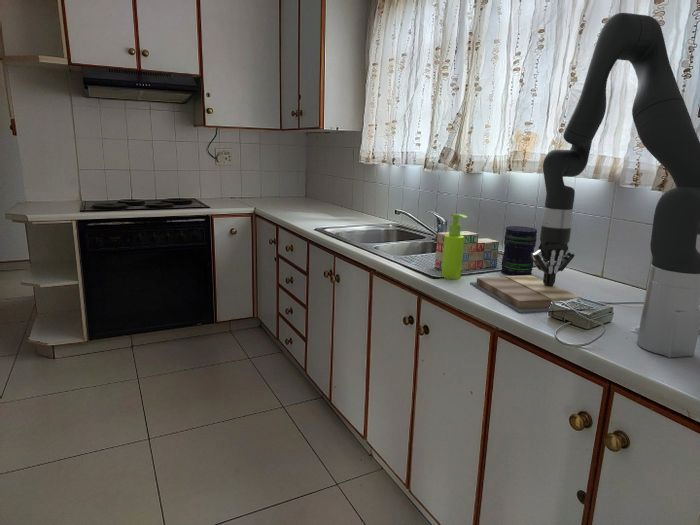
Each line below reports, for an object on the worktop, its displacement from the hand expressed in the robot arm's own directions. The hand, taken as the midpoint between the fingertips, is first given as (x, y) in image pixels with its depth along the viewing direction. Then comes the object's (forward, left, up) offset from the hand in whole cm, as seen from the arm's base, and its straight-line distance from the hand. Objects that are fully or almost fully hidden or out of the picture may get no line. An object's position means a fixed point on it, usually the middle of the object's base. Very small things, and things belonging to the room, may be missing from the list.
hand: (548, 285), depth 132 cm
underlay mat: (0, +6, -3) cm, 7 cm away
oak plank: (0, +3, -2) cm, 3 cm away
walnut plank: (0, +12, -3) cm, 12 cm away
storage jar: (+23, -5, -3) cm, 24 cm away
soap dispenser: (+21, +19, -3) cm, 29 cm away
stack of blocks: (+32, +9, -3) cm, 34 cm away
